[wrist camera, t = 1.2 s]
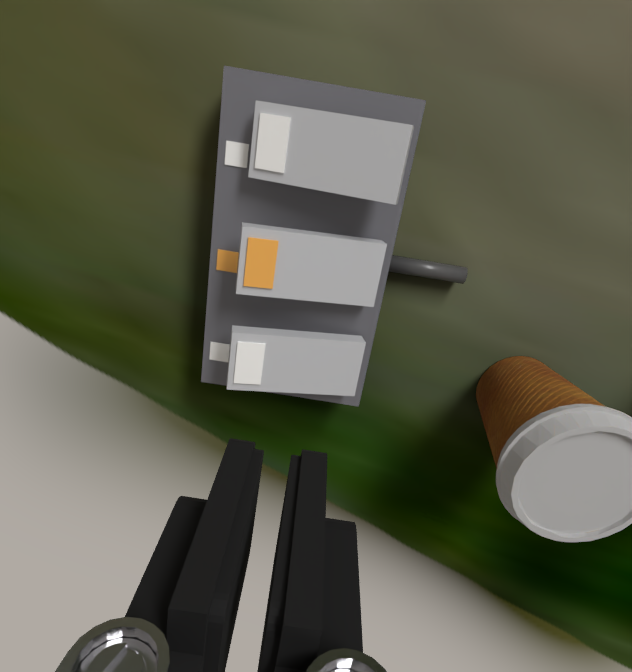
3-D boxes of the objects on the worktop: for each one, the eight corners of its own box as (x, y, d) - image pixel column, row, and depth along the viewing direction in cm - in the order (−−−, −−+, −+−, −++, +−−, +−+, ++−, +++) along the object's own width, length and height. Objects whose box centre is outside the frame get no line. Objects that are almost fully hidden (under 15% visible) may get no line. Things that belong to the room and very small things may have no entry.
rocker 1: (414, 126, 26) (412, 124, 25) (397, 203, 28) (395, 205, 27) (263, 102, 28) (254, 99, 27) (255, 176, 29) (247, 177, 28)
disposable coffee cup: (435, 376, 39) (474, 468, 28) (543, 315, 37) (633, 388, 25) (489, 456, 42) (544, 569, 31) (592, 404, 39) (694, 506, 28)
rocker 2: (381, 240, 31) (387, 244, 29) (368, 301, 32) (374, 307, 31) (241, 222, 29) (242, 226, 28) (235, 287, 30) (236, 294, 29)
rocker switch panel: (503, 120, 32) (526, 117, 28) (427, 393, 40) (436, 419, 36) (237, 75, 31) (223, 65, 27) (213, 359, 39) (200, 382, 35)
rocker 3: (361, 335, 33) (366, 343, 32) (350, 387, 35) (354, 397, 34) (232, 325, 31) (232, 333, 30) (226, 380, 33) (226, 390, 32)
